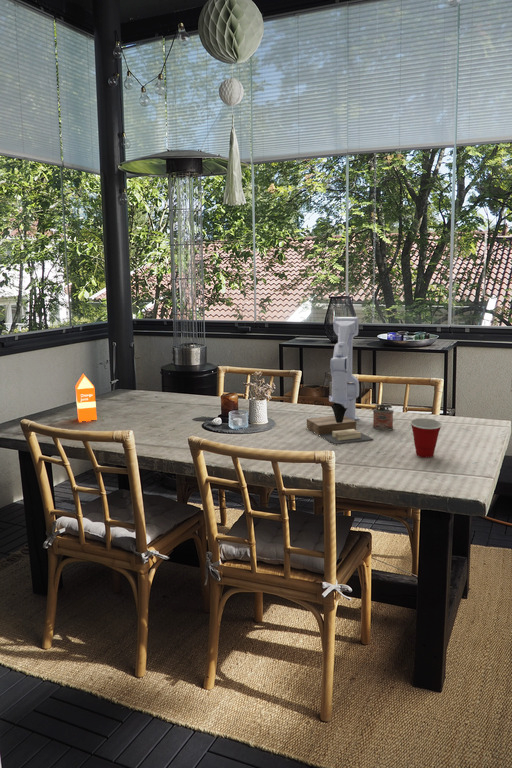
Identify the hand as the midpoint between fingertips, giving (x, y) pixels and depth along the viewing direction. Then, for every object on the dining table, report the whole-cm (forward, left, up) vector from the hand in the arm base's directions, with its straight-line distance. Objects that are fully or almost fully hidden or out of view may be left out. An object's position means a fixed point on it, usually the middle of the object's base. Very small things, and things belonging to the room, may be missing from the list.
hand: (339, 422), depth 259 cm
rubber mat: (+5, 0, -5) cm, 7 cm away
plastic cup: (+36, +15, -5) cm, 40 cm away
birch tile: (+6, 0, -2) cm, 7 cm away
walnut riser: (-8, 0, -5) cm, 9 cm away
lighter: (-2, +20, -5) cm, 21 cm away
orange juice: (-68, -90, -5) cm, 113 cm away
